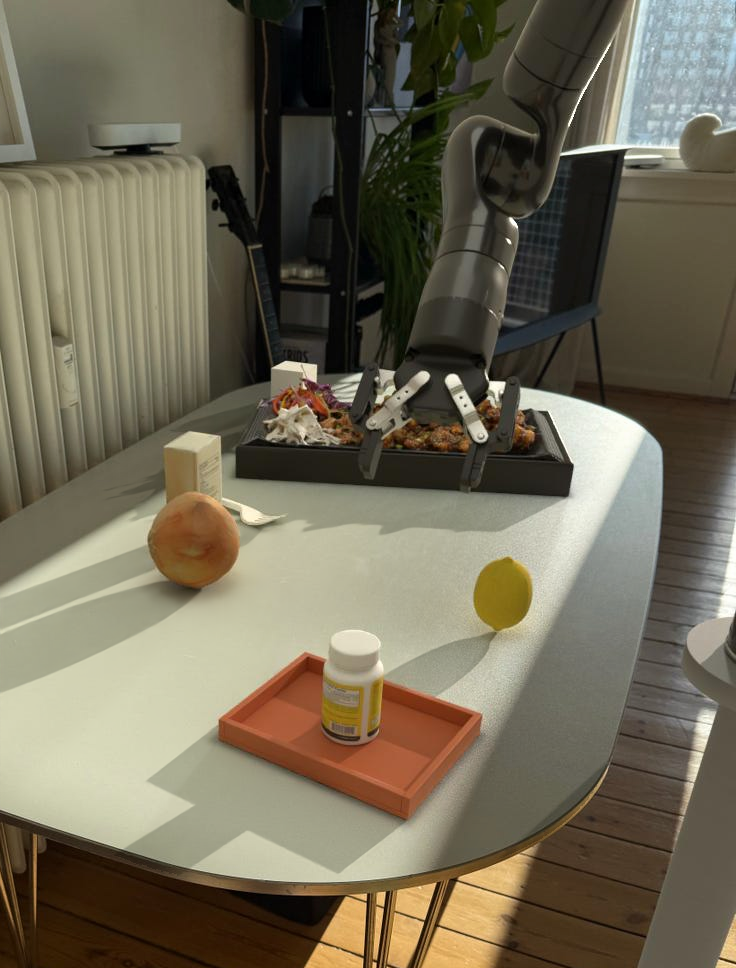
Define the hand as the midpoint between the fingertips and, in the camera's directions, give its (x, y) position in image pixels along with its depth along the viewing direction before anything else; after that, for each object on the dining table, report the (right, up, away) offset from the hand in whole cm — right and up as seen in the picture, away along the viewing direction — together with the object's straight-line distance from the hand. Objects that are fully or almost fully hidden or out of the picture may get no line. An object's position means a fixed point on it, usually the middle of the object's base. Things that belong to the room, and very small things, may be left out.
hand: (415, 482), depth 80 cm
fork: (-18, +3, +40) cm, 43 cm away
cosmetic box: (-21, -2, +31) cm, 37 cm away
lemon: (+10, -13, +12) cm, 21 cm away
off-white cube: (-7, +28, +83) cm, 88 cm away
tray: (-6, -22, -3) cm, 23 cm away
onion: (-20, -8, +21) cm, 30 cm away
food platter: (+7, +13, +57) cm, 59 cm away
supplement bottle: (-6, -21, -3) cm, 22 cm away
